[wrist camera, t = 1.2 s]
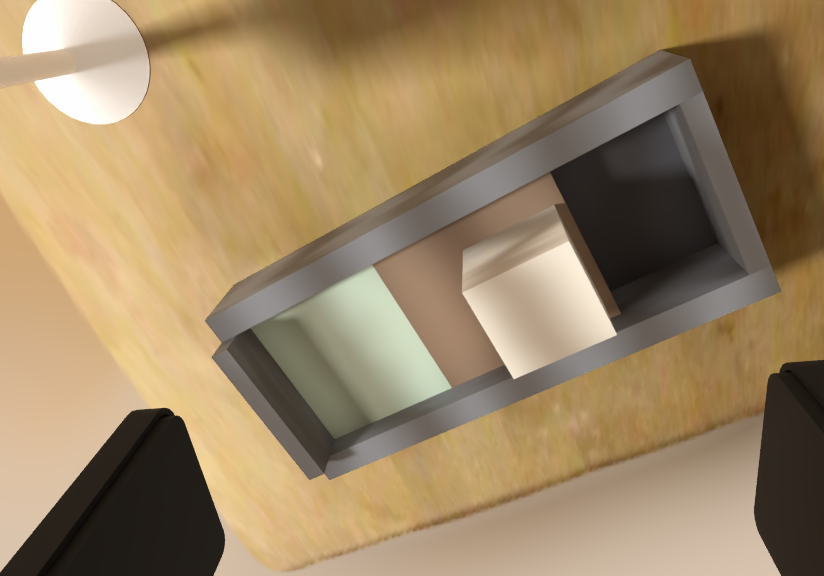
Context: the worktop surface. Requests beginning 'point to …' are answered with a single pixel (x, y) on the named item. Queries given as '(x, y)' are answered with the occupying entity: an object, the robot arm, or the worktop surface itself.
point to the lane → (443, 264)
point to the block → (534, 294)
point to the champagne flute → (82, 59)
